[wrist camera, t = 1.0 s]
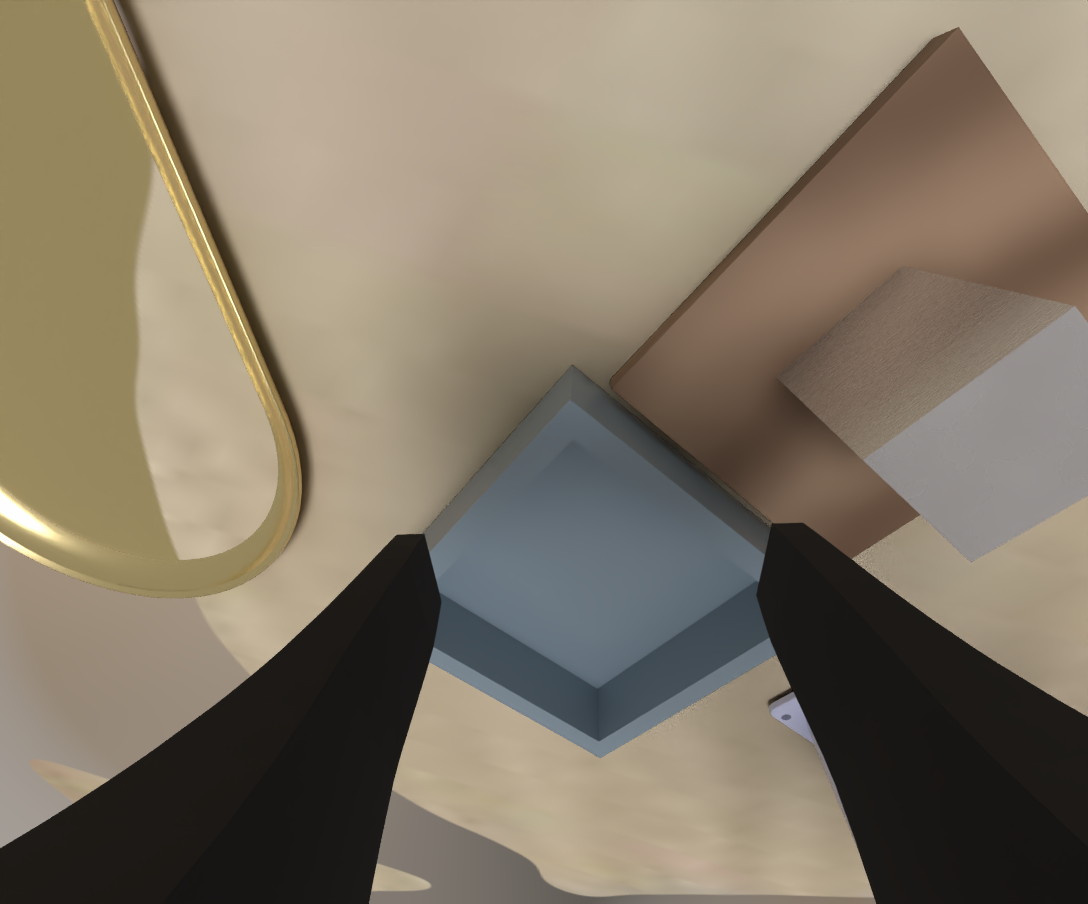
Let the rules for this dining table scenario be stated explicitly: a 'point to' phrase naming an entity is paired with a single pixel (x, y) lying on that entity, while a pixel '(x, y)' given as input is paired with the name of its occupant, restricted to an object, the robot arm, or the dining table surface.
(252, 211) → the dining table surface
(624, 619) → the bin
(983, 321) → the metal block
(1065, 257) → the stud base
